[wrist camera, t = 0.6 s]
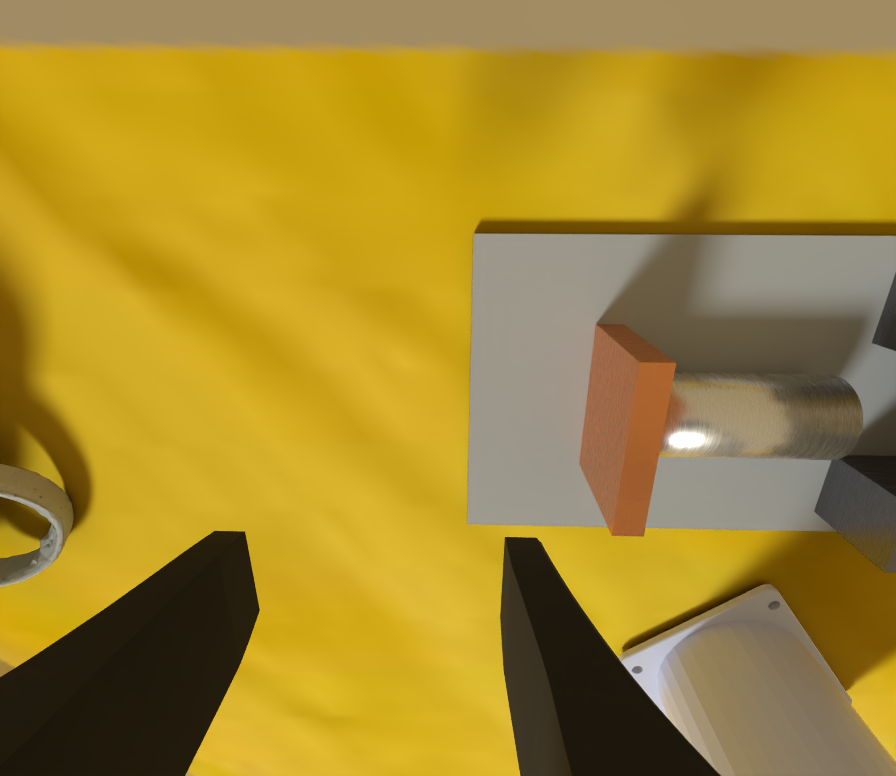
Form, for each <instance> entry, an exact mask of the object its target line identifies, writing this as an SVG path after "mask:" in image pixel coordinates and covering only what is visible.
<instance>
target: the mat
mask: <svg viewBox="0 0 896 776" xmlns="http://www.w3.org/2000/svg"><path fill="white" fill-rule="evenodd" d="M895 273H896V235H725V234H543V233H473V277H472V322H471V367H470V412H469V456H468V501H467V524H481V525H530V526H579V527H608V526H607V524H606V522H605V519H604V517H603V515H602V513H601V511H600V509H599V506H598V504H597V502H596V500H595V498H594V495H593V493H592V491H591V489H590V487H589V484H588V482H587V480H586V478H585V476H584V473H583V471H582V469H581V467H580V465H579V459H580V451H581V443H582V434H583V426H584V418H585V409H586V401H587V393H588V384H589V376H590V368H591V359H592V351H593V343H594V334H595V326H596V324H624V325H625V326H627V327H628V328H629V329H631V330H632V331H634V332H635V333H636V334H638V335H639V336H640V337H642V338H643V339H645V340H646V341H647V342H649V343H650V344H651V345H653V346H654V347H655V348H657V349H658V350H660V351H661V352H662V353H664V354H665V355H666V356H668V357H669V358H670V359H672V360H673V361H675V362H676V368H675V373H745V374H825V375H835V376H838V377H840V378H842V379H844V380H845V381H847V382H848V383H849V384H850V385H851V386H852V387H853V389H854V390H855V392H856V393H857V395H858V397H859V400H860V402H861V406H862V411H863V428H862V433H861V436H860V439H859V441H858V443H857V445H856V446H855V448H854V449H853V450H852V451H851V452H850V453H849V454H848V455H878V456H896V351H894V350H891V349H888V348H885V347H882V346H879V345H876V344H873V343H872V340H873V337H874V334H875V331H876V328H877V326H878V323H879V320H880V317H881V314H882V311H883V308H884V305H885V302H886V299H887V296H888V293H889V290H890V288H891V285H892V282H893V279H894V276H895ZM830 463H831V460H784V459H725V458H665V457H659V458H658V463H657V468H656V473H655V479H654V484H653V489H652V495H651V500H650V505H649V510H648V516H647V521H646V526H645V528H676V529H725V530H774V531H823V532H837V531H836V530H835V529H833V528H832V527H831V526H830V525H829V524H828V523H827V522H825V521H824V520H823V519H822V518H821V517H820V516H818V515H817V514H816V513H815V512H814V510H815V507H816V504H817V501H818V498H819V495H820V492H821V489H822V486H823V483H824V480H825V477H826V475H827V472H828V469H829V466H830Z"/></svg>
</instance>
